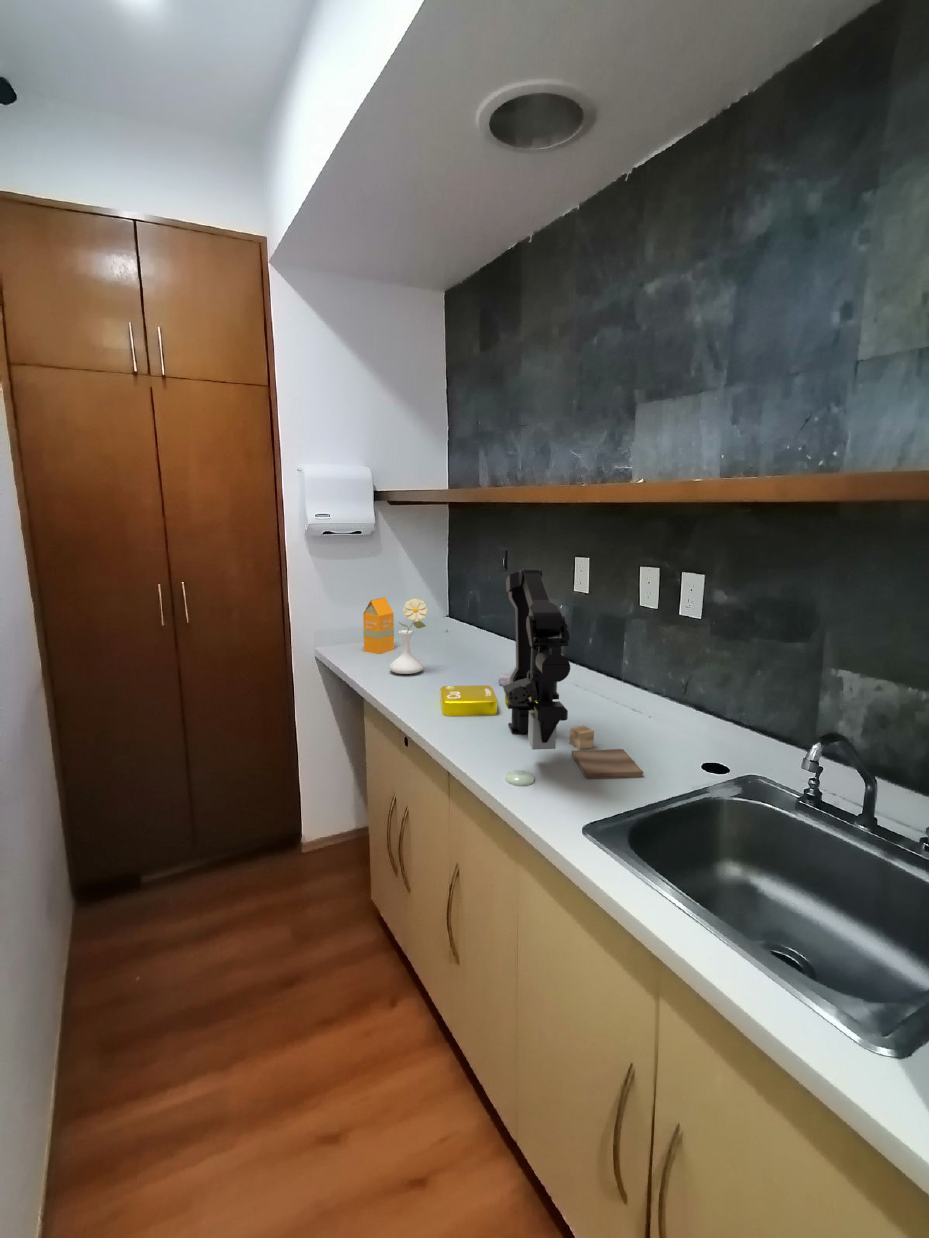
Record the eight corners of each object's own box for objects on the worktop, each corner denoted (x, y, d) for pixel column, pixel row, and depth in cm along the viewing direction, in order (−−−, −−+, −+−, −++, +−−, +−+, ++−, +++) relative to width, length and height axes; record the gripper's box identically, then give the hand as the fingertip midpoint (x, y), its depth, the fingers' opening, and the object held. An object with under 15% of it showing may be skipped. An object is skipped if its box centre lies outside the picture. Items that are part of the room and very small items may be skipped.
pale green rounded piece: (503, 775, 132) (503, 770, 132) (530, 774, 133) (531, 769, 133) (507, 787, 126) (507, 783, 126) (536, 786, 127) (537, 782, 127)
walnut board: (571, 755, 142) (571, 750, 141) (622, 753, 143) (623, 748, 143) (586, 778, 130) (587, 773, 130) (642, 776, 131) (642, 771, 131)
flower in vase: (385, 676, 204) (384, 600, 199) (393, 666, 215) (392, 595, 210) (425, 677, 202) (424, 601, 197) (431, 668, 213) (430, 596, 209)
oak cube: (569, 743, 149) (570, 727, 148) (583, 741, 151) (583, 725, 150) (579, 749, 145) (580, 733, 145) (593, 746, 147) (594, 730, 146)
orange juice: (394, 649, 239) (393, 598, 236) (379, 654, 232) (378, 601, 228) (378, 646, 243) (377, 596, 240) (363, 651, 236) (362, 599, 232)
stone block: (542, 688, 199) (516, 676, 204) (544, 674, 197) (519, 663, 203) (521, 698, 190) (495, 685, 195) (523, 684, 188) (497, 672, 194)
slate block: (528, 740, 138) (528, 710, 137) (550, 739, 139) (551, 709, 137) (532, 749, 133) (533, 718, 132) (555, 748, 134) (556, 717, 132)
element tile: (498, 716, 168) (498, 699, 167) (442, 717, 167) (442, 700, 166) (491, 699, 183) (491, 683, 182) (440, 699, 181) (440, 684, 180)
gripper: (499, 658, 141) (498, 723, 144) (514, 682, 123) (512, 756, 126) (548, 657, 142) (545, 722, 145) (569, 680, 124) (566, 754, 127)
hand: (541, 737), depth 136 cm, fingers closed on slate block, 5 cm apart
